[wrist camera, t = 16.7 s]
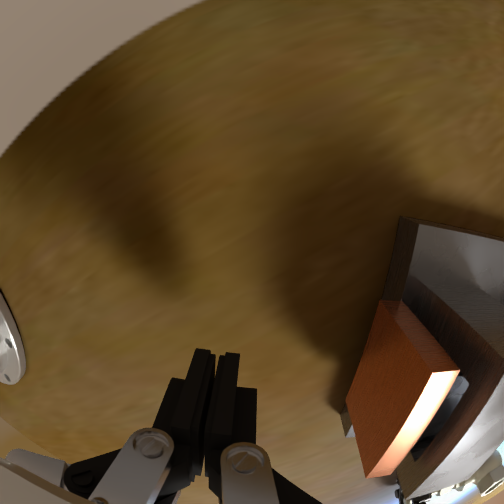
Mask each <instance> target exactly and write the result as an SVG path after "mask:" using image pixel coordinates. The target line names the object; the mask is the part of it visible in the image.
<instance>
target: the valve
mask: <svg viewBox="0 0 504 504" xmlns="http://www.w3.org/2000/svg"><path fill="white" fill-rule="evenodd" d="M503 482H504V467H503V465H502V458H501V455H500V453H499V452H498V451H497V450H495V451H494V452H493V454H492V455H491V456H490V457H489V458H488V459H487V460H486V461H485V462H484V464H483V465H482V466H481V467H480V468H479V469H478V470H477V471H476V472H475V473H474V474H473V475H472V476H471V477H470V478H469V479H468V480H465V481H463V482H460V483H457V484H455V485H452V486H449V487H447V488H444V489H441V490H438V491H435V492H431V493H428V494H425V495H421V496H418V497H414V498H411V499H407V500H405V498H404V495H403V491H402V488H401V485H400V482H399V478H397V483H398V485H399V486H400V489H397V490H395V497H396V498H399V504H426V502H427V501H430V499H431V497H432V495H436V496H441V495H443V494H445V493H448V492H450V491H451V488H452V489H456V490H457V491H462V490H464V489H466V488H468V487H469V486H470V485H471V483H474V484H476V485H477V488H478V491H479V493H480V495H481V496H484V495H486V494H488V493H490V492H491V491H493V490H494V489H496V488H497V487H498V486H499V485H501V484H502V483H503Z"/></svg>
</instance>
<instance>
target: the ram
mask: <svg viewBox="0 0 504 504" xmlns="http://www.w3.org/2000/svg"><path fill="white" fill-rule="evenodd" d="M468 386H469V383H468V382H467V380H466V379H465V378H464V376H463V375H462V374H461V372H460V369H459V368H458V367H457V365H456V364H455V363H454V361H453V360H452V359H451V358H450V356H449V355H448V354H447V353H446V351H445V350H444V349H443V348H442V347H441V345H440V344H439V343H438V342H437V341H436V339H435V338H434V337H433V336H432V335H431V333H430V332H429V331H428V330H427V329H426V328H425V326H424V325H423V324H422V323H421V322H420V321H419V319H418V318H417V317H416V316H415V315H414V314H413V313H412V311H411V310H410V309H409V308H408V307H407V306H406V305H405V304H404V302H403V301H391V300H379V303H378V307H377V310H376V314H375V317H374V321H373V324H372V327H371V330H370V334H369V337H368V340H367V343H366V346H365V349H364V352H363V355H362V358H361V360H360V363H359V366H358V369H357V371H356V374H355V377H354V379H353V382H352V385H351V387H350V390H349V392H348V395H347V397H346V404H347V408H348V411H349V415H350V418H351V422H352V426H353V430H354V433H355V437H356V441H357V445H358V449H359V453H360V457H361V461H362V465H363V469H364V473H365V477H366V478H373V477H379V476H385V475H391V474H392V472H393V471H394V470H395V469H396V468H397V466H398V465H399V464H400V463H401V461H402V460H403V459H404V458H405V456H406V455H407V454H408V452H409V451H410V450H411V449H412V447H413V446H414V444H415V443H416V442H417V440H418V439H419V438H420V437H424V436H429V435H434V434H438V433H439V431H440V430H441V428H442V427H443V426H444V424H445V423H446V421H447V420H448V418H449V417H450V415H451V414H452V412H453V411H454V409H455V407H456V406H457V404H458V403H459V401H460V399H461V398H462V396H463V394H464V393H465V391H466V389H467V387H468Z"/></svg>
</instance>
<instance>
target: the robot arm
mask: <svg viewBox="0 0 504 504" xmlns="http://www.w3.org/2000/svg"><path fill="white" fill-rule="evenodd" d="M215 359H216V355H215V354H211V351H210V350H205V349H198V348H196V350H195V352H194V355H193V358H192V361H191V364H190V367H189V370H188V373H187V376H186V379H185V380H184V379H178V378H172V379H171V380H170V383H169V385H168V388H167V390H166V393H165V395H164V398H163V401H162V403H161V406H160V408H159V411H158V414H157V416H156V419H155V421H154V424H153V427H152V428H143V429H139V430H137V431H136V432H134V433H133V434H132V435H131V436H130V437H129V439H128V440H127V442H126V443H125V445H124V446H123V448H121V449H118V450H115V451H112V452H109V453H106V454H103V455H100V456H97V457H93V458H90V459H87V460H83V461H80V462H76V463H74V464H67V463H66V462H65V461H63V460H59V459H54V458H51V457H47V456H43V455H40V454H36V453H33V452H29V451H26V450H23V449H14V450H12V451H10V452H9V453H8V454H7V456H6V459H3V458H0V504H176V503H177V500H178V498H179V496H180V494H181V489H183V488H185V487H187V486H189V485H190V483H191V482H194V479H195V475H199V476H201V472H202V466H203V461H204V455H205V476H206V477H209V489H210V490H211V491H212V492H213V493H214V494H215V495H216V496H218V501H219V504H322V503H321V502H319V501H318V500H316V499H315V498H313V497H312V496H310V495H309V494H307V493H306V492H304V491H303V490H301V489H300V488H298V487H297V486H296V485H294V484H293V483H291V482H290V481H289V480H287V479H286V478H284V477H283V476H282V475H280V474H279V473H278V472H276V471H275V470H274V469H272V468H271V464H270V459H269V456H268V454H267V452H266V451H265V450H264V449H263V448H261V447H260V446H258V445H256V412H257V389H255V388H244V387H237V378H238V368H239V359H240V354H238V353H229V352H226V354H225V356H223V355H220V356H219V361H218V366H217V371H216V376H215ZM25 369H26V359H25V353H24V348H23V344H22V341H21V337H20V334H19V332H18V329H17V326H16V324H15V321H14V319H13V317H12V315H11V312H10V310H9V308H8V306H7V304H6V302H5V300H4V298H3V296H2V294H1V293H0V382H2V383H5V384H9V385H10V384H15V383H17V382H18V381H19V380H20V379H21V378H22V376H23V375H24V373H25Z"/></svg>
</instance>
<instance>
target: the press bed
mask: <svg viewBox="0 0 504 504" xmlns="http://www.w3.org/2000/svg"><path fill="white" fill-rule="evenodd" d="M381 300H391V301H403V302H404V304H405V305H406V306H407V307H408V308H409V309H410V310H411V311H412V313H413V314H414V315H415V316H416V317H417V318H418V319H419V321H420V322H421V323H422V324H423V325H424V326H425V328H426V329H427V330H428V331H429V332H430V333H431V335H432V336H433V337H434V338H435V339H436V341H437V342H438V343H439V344H440V345H441V347H442V348H443V349H444V350H445V351H446V353H447V354H448V355H449V356H450V358H451V359H452V360H453V361H454V363H455V364H456V365H457V367H458V368H459V369H460V372H461V374H462V375H463V376H464V378H465V379H466V380H467V382H468V383H469V386H468V387H467V389H466V391H465V393H464V394H463V396H462V398H461V399H460V401H459V403H458V404H457V406H456V407H455V409H454V411H453V412H452V414H451V415H450V417H449V418H448V420H447V421H446V423H445V424H444V426H443V427H442V428H441V430H440V431H439V433H438V434H434V435H429V436H424V437H420V438H419V439H418V440H417V442H416V443H415V444H414V446H413V447H412V449H411V450H410V451H409V452H408V454H407V455H406V456H405V458H404V459H403V460H402V461H401V463H400V464H399V465H398V466H397V468H396V472H397V475H398V478H399V482H400V485H401V488H402V491H403V495H404V498H405V500H407V499H411V498H414V497H418V496H421V495H425V494H428V493H431V492H435V491H438V490H441V489H444V488H447V487H449V486H452V485H455V484H457V483H460V482H463V481H465V480H468V479H469V478H470V477H471V476H472V475H473V474H474V473H475V472H476V471H477V470H478V469H479V468H480V467H481V466H482V465H483V464H484V462H485V461H486V460H487V459H488V458H489V457H490V456H491V455H492V454H493V452H494V451H495V450H496V449H497V448H498V447H499V445H500V444H501V443H502V442H503V440H504V238H501V237H497V236H493V235H489V234H485V233H481V232H476V231H472V230H467V229H463V228H458V227H454V226H449V225H444V224H439V223H435V222H429V221H424V220H419V219H414V218H409V217H403V216H400V219H399V225H398V230H397V235H396V240H395V245H394V250H393V255H392V259H391V264H390V268H389V272H388V276H387V280H386V284H385V288H384V292H383V296H382V299H381ZM340 416H341V420H342V425H343V429H344V433H345V437H355V433H354V430H353V426H352V422H351V418H350V415H349V411H348V408H347V404H346V403H345V406H344V408H343V410H342V413H341V415H340Z"/></svg>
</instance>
